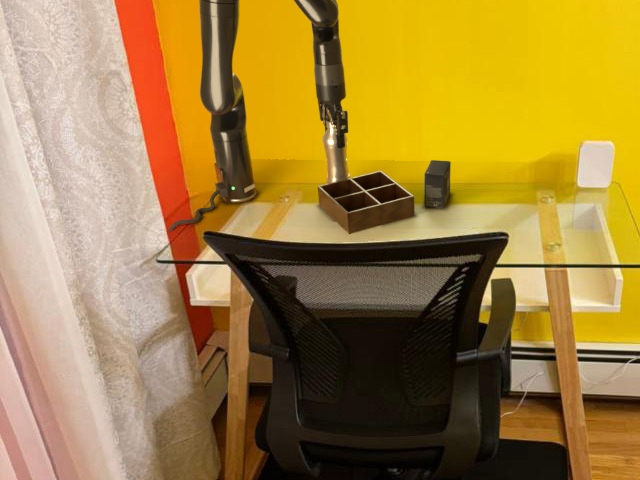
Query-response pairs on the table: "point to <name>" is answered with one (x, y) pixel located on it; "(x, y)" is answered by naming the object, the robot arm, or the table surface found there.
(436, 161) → the box
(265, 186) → the table surface
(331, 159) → the silver metal bottle
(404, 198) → the compartment tray
